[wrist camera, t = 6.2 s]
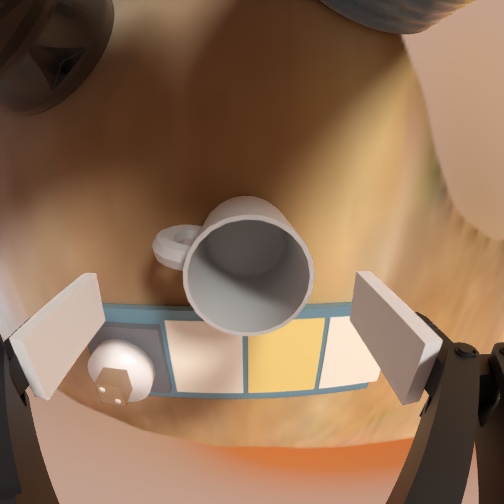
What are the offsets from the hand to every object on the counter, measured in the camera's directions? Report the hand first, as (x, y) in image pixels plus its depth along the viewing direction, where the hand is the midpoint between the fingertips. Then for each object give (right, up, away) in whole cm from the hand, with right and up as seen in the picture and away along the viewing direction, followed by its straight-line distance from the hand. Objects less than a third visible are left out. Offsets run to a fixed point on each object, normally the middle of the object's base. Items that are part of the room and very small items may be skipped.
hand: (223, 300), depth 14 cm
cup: (-1, +4, +11) cm, 11 cm away
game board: (-1, -8, +14) cm, 16 cm away
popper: (-11, -9, +11) cm, 18 cm away
